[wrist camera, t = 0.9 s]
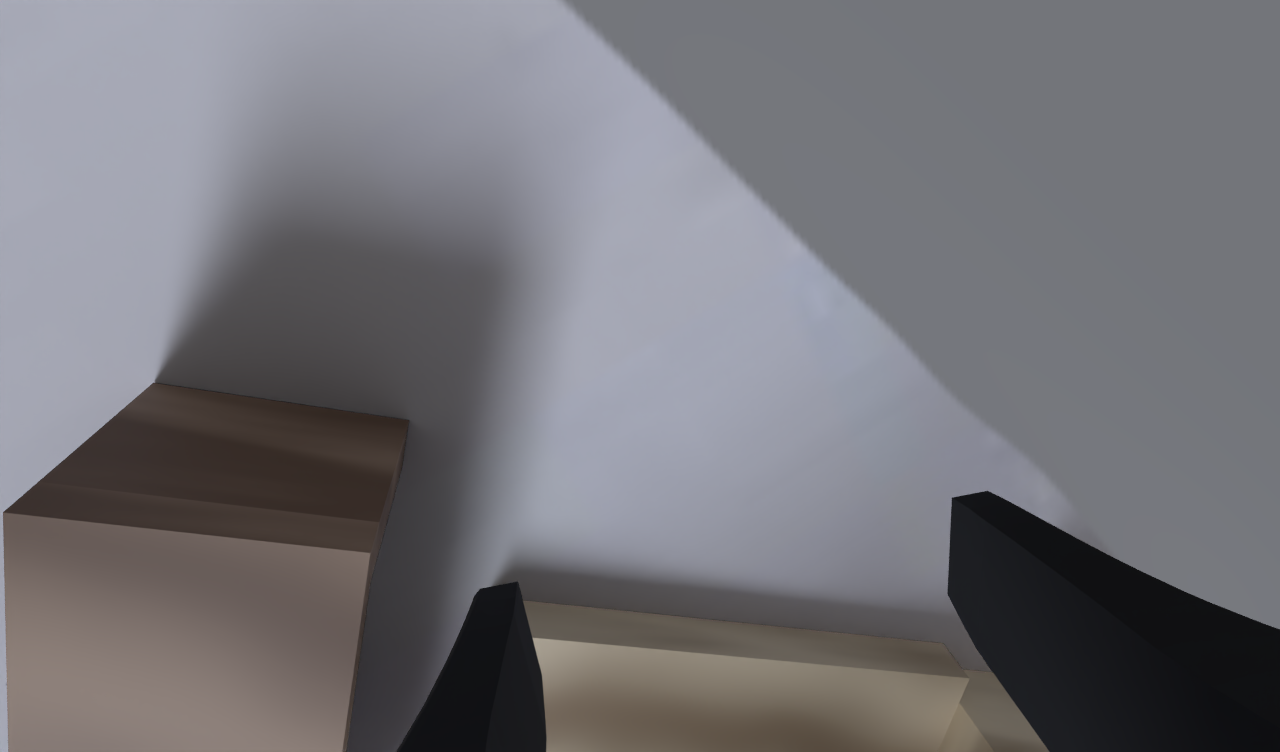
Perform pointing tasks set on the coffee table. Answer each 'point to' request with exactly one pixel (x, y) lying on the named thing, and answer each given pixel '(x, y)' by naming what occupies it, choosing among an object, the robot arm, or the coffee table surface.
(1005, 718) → the oak l-shaped block
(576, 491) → the coffee table surface
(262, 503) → the walnut shelf
